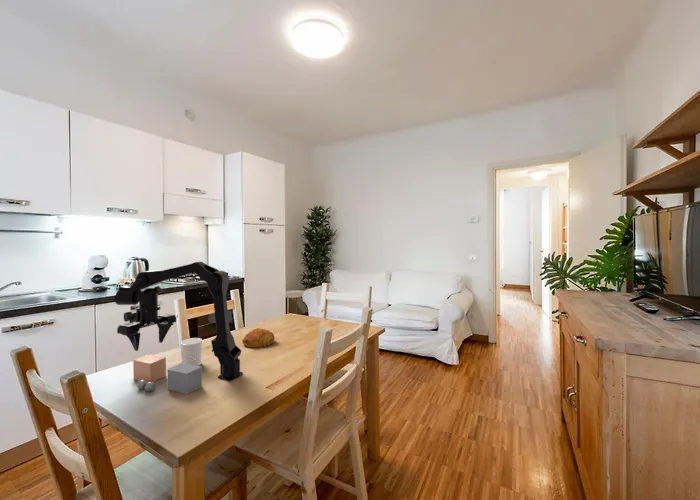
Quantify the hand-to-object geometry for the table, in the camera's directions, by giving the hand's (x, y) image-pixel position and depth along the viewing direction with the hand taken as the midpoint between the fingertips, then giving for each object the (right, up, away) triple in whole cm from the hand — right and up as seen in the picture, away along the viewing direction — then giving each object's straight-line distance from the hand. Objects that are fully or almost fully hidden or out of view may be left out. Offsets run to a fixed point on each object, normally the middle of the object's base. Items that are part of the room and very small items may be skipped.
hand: (149, 346), depth 112 cm
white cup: (+10, -12, +12) cm, 19 cm away
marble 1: (+3, -12, -8) cm, 15 cm away
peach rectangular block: (0, -12, 0) cm, 12 cm away
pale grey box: (+17, -12, -7) cm, 22 cm away
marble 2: (+7, -12, -10) cm, 17 cm away
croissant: (+29, -11, +38) cm, 49 cm away
